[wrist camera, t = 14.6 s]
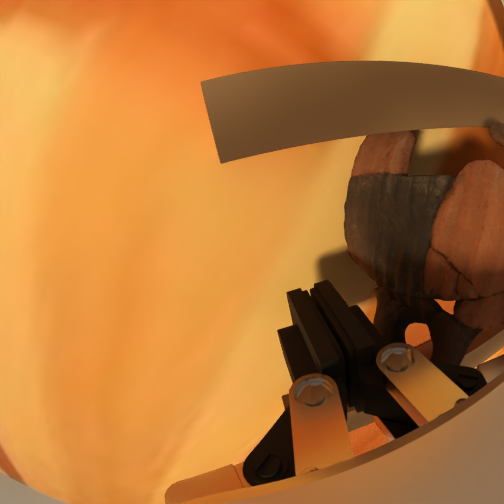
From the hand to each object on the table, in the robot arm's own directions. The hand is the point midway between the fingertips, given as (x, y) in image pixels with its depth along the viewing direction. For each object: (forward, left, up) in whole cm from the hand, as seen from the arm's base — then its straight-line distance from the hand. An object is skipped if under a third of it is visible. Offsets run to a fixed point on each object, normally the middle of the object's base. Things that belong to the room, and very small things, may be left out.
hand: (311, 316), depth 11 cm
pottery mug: (+2, -6, -2) cm, 7 cm away
